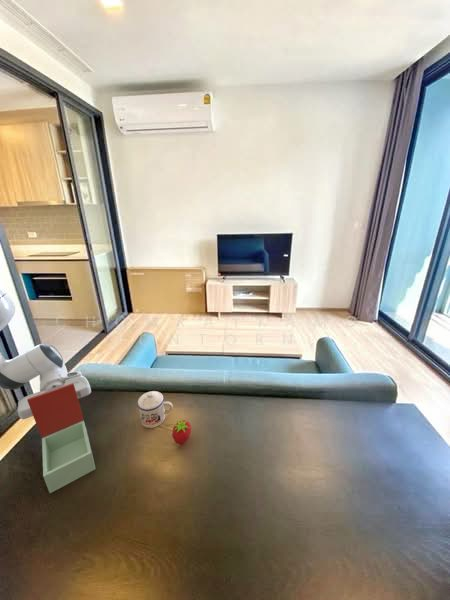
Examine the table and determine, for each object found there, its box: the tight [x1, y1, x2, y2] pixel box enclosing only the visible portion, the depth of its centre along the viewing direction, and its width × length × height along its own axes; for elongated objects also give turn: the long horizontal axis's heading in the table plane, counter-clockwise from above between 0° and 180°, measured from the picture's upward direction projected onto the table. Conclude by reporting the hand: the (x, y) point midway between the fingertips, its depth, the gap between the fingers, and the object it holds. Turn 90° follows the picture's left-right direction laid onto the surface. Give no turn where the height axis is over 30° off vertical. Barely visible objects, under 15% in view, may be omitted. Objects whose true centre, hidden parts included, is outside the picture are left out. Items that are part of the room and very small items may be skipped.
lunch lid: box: [27, 383, 84, 439], centre depth 77 cm, size 15×12×1 cm
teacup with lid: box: [137, 390, 173, 429], centre depth 90 cm, size 12×9×12 cm
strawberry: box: [172, 419, 192, 446], centre depth 81 cm, size 6×8×10 cm
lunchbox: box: [41, 420, 96, 494], centre depth 76 cm, size 15×12×7 cm
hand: (58, 411), depth 78 cm, fingers closed, pressing on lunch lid
